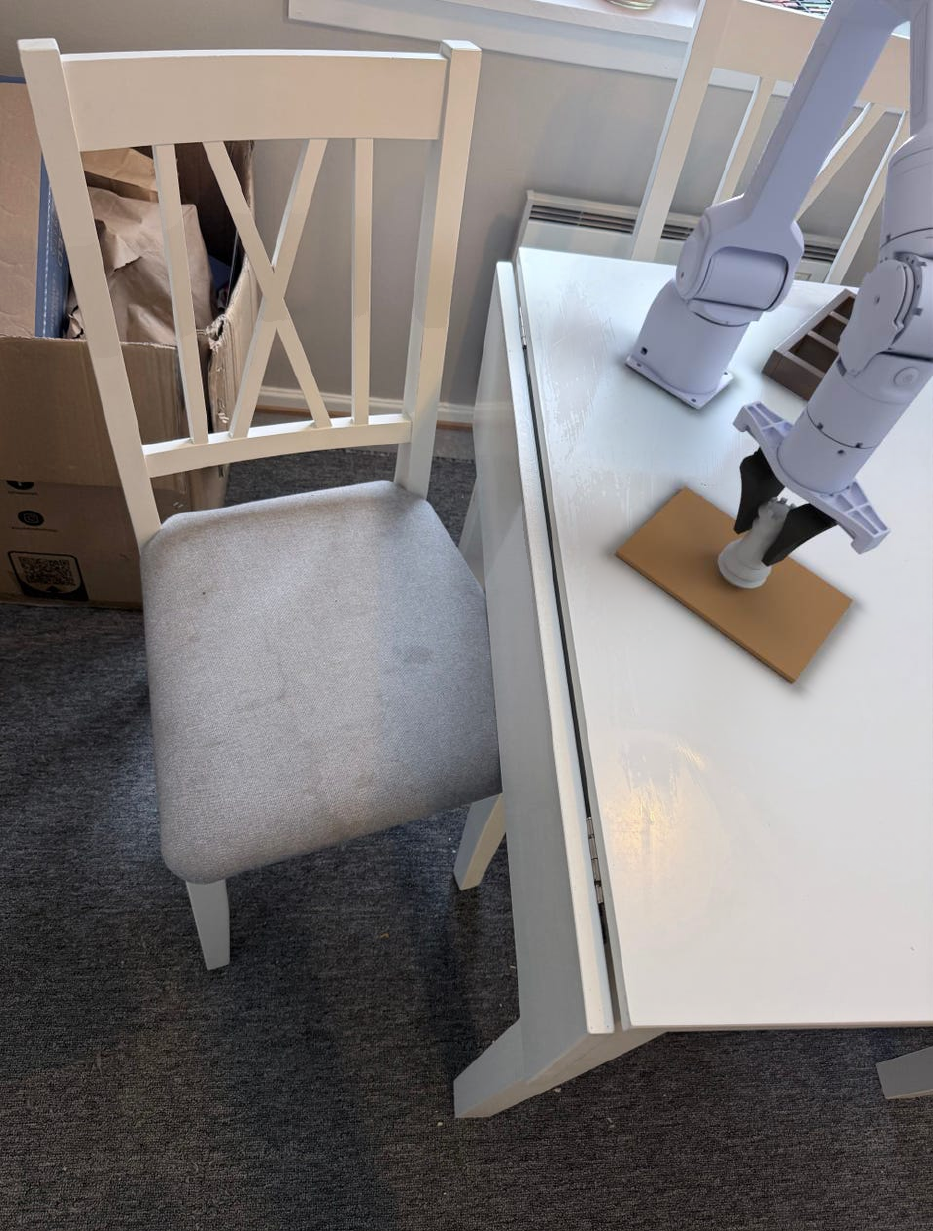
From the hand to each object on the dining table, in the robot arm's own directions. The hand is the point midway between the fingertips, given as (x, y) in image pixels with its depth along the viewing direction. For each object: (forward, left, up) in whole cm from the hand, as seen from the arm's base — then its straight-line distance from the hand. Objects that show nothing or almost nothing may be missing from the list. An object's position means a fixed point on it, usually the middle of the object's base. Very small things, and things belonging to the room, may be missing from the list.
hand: (758, 544), depth 70 cm
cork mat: (0, 0, -5) cm, 5 cm away
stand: (-9, +39, -5) cm, 40 cm away
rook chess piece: (0, 0, -4) cm, 4 cm away
